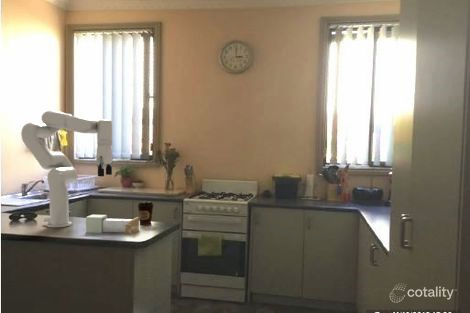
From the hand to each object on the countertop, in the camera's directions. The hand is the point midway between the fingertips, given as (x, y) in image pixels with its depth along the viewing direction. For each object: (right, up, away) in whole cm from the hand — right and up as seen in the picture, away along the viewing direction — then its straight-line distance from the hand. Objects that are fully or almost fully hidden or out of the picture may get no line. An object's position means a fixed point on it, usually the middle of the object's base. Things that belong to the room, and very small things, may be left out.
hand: (105, 175), depth 222 cm
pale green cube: (-3, -29, -4) cm, 29 cm away
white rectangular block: (+8, -29, -6) cm, 30 cm away
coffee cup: (+19, -28, +11) cm, 36 cm away
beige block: (+16, -29, -7) cm, 34 cm away
